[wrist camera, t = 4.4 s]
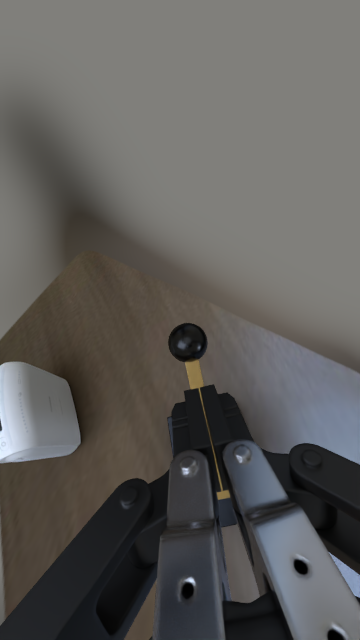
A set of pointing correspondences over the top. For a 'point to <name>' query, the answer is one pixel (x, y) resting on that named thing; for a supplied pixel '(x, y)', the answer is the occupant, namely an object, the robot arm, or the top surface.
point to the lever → (192, 362)
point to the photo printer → (35, 414)
